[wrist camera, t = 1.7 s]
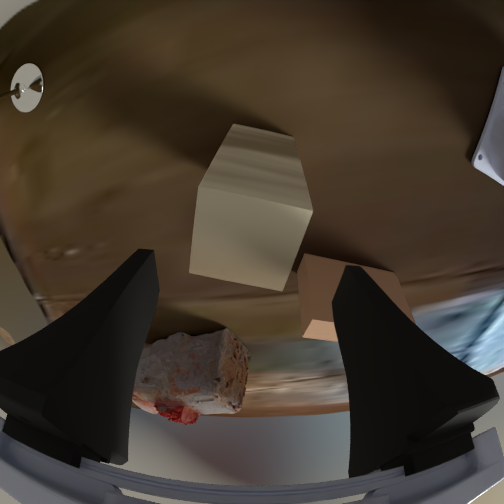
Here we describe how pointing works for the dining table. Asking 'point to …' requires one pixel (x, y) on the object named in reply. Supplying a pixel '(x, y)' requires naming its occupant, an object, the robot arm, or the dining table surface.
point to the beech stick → (251, 210)
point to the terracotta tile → (323, 290)
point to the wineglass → (26, 88)
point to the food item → (192, 376)
